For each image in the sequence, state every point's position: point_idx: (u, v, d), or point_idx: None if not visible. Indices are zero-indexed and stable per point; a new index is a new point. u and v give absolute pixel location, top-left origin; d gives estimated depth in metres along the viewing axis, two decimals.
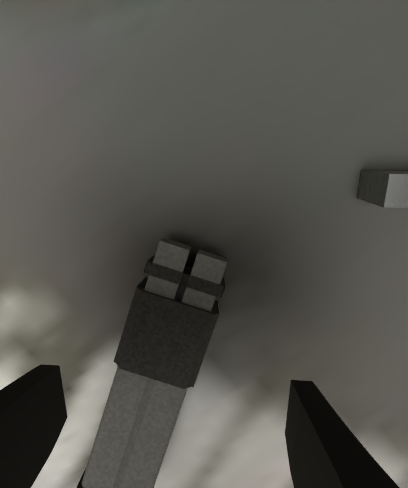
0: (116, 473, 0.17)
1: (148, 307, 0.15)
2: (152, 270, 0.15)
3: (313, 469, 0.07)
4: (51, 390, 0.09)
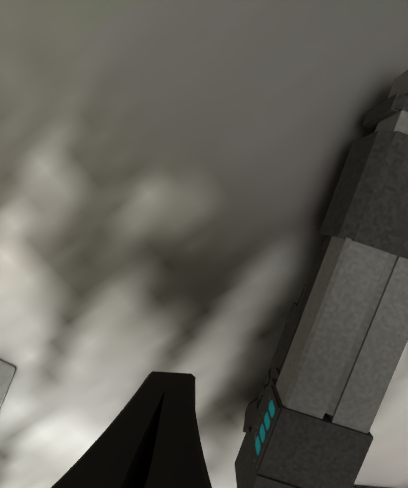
0: (333, 389, 0.13)
1: (401, 154, 0.11)
2: (407, 103, 0.11)
3: None
4: None
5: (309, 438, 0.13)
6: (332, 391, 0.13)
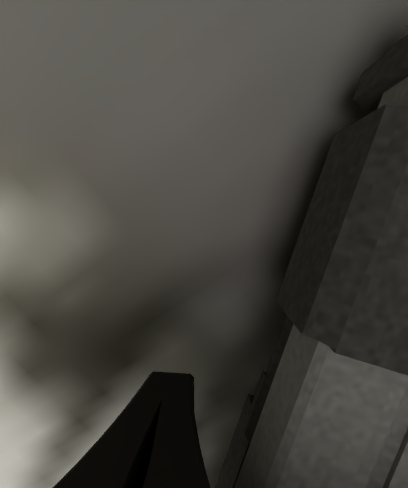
0: None
1: None
2: None
3: None
4: None
5: None
6: None
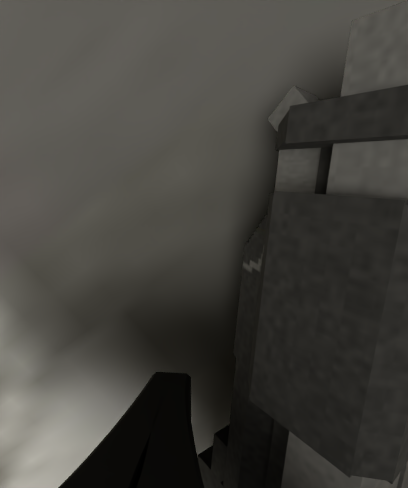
0: None
1: None
2: None
3: None
4: None
5: None
6: None
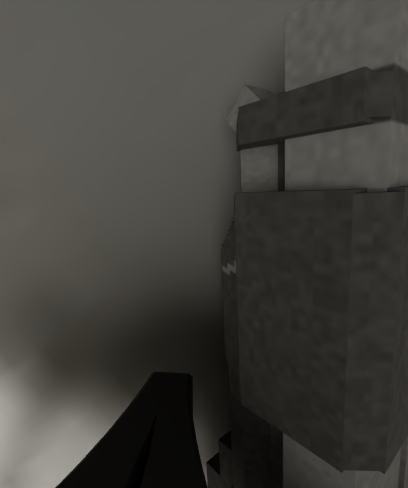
0: None
1: None
2: (394, 98, 0.04)
3: None
4: None
5: None
6: None
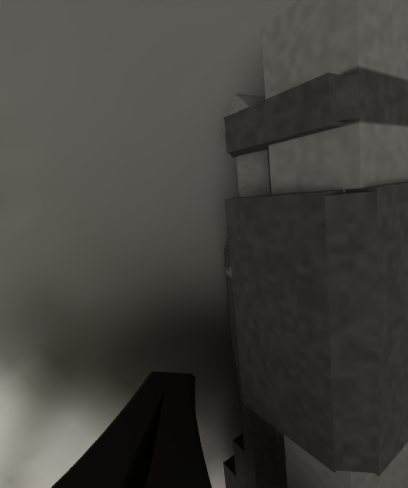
0: None
1: (394, 238, 0.04)
2: (362, 100, 0.04)
3: None
4: None
5: None
6: None
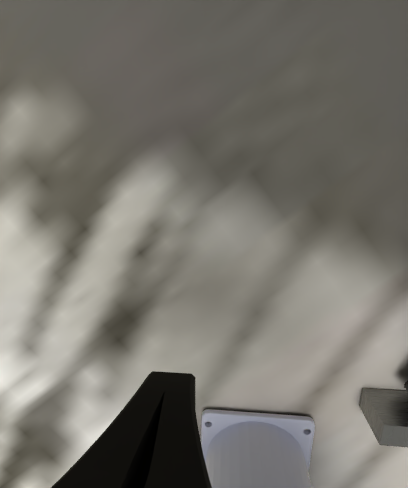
0: None
1: None
2: None
3: None
4: None
5: None
6: None
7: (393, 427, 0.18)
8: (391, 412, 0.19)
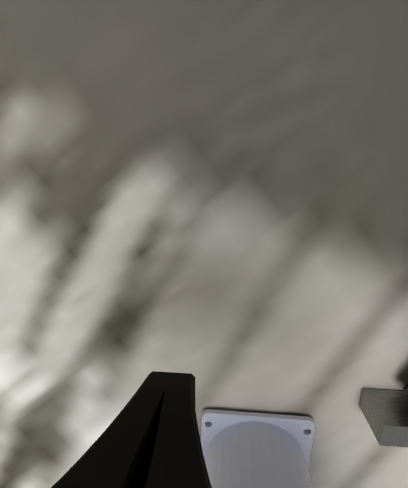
0: None
1: None
2: None
3: None
4: None
5: None
6: None
7: (393, 427, 0.18)
8: (391, 412, 0.19)
